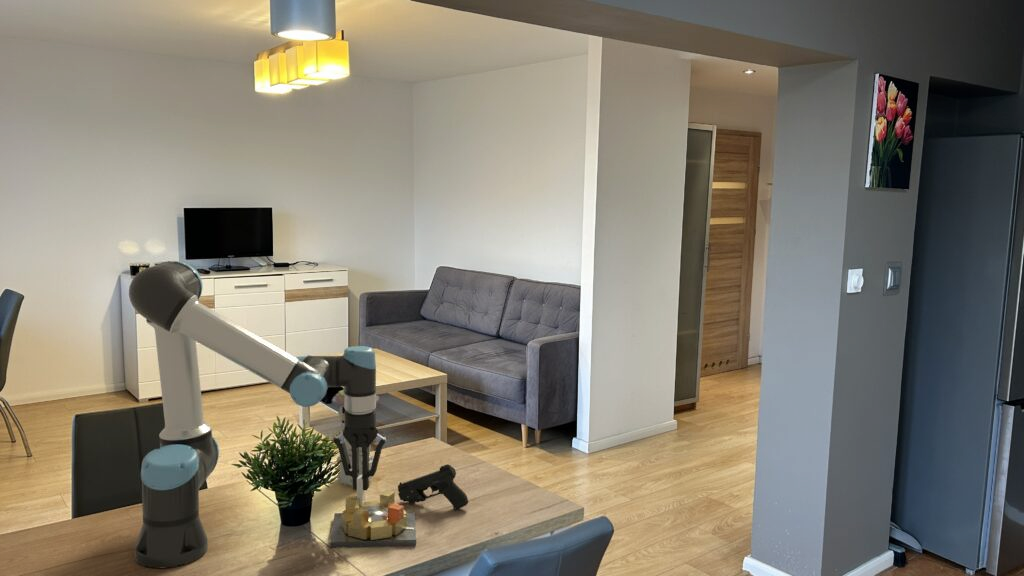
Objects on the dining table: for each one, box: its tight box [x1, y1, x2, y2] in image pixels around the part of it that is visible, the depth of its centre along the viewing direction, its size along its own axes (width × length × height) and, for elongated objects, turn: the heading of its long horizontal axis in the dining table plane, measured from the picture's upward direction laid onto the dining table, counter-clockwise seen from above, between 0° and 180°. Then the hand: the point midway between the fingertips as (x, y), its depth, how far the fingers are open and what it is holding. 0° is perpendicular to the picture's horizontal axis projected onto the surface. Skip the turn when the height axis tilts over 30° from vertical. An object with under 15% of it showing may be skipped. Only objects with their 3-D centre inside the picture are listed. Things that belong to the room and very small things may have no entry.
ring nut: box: [341, 489, 407, 540], centre depth 192 cm, size 15×15×6 cm
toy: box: [330, 387, 381, 487], centre depth 221 cm, size 16×12×30 cm
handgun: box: [397, 464, 469, 511], centre depth 208 cm, size 2×17×12 cm, turn 79°
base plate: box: [329, 505, 417, 549], centre depth 192 cm, size 20×16×5 cm
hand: (360, 502), depth 195 cm, fingers closed
